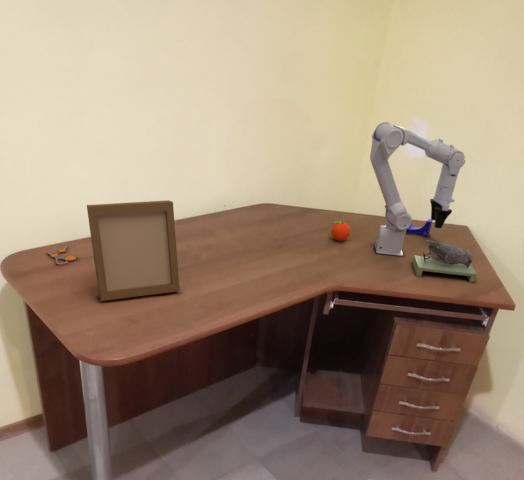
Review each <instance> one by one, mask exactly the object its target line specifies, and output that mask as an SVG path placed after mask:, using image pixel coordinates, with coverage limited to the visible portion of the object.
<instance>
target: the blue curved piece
mask: <svg viewBox="0 0 524 480" xmlns="http://www.w3.org/2000/svg"><path fill="white" fill-rule="evenodd" d="M433 221H434V220H431V218H428V219H427V220H426V221H425V224H424V225H423V226H420V227H416V226H413V225H412V224H411V225H410V227H409V228H408V229H406V233H405V234H410V235H411V234H414V235H419V236H421V237H425V238H427V237H428V236H429V235H430V232H431V229H432V224H433Z"/></svg>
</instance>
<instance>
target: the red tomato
mask: <svg viewBox="0 0 524 480" xmlns="http://www.w3.org/2000/svg"><path fill="white" fill-rule="evenodd" d="M333 224H334V225H333V226H332V227H331V225H329V226H328V227H331V236H332V237H333V239H334V240H335V241H340V242H344V241H346V240H347V239H348V238H349V237H350V235H351V227H350V225H349V224H348V223H347V222H346V221H340V220H339V221H334V222H333Z"/></svg>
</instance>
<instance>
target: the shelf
mask: <svg viewBox="0 0 524 480" xmlns="http://www.w3.org/2000/svg"><path fill="white" fill-rule="evenodd" d="M428 257H429V256H425V258H428ZM425 261H426V262H425ZM425 261H424V256H422V255H415V254H414V255H413V260H412V262H411V264H412V267H413V270H414V273H415V276H417V277H422V275H423V272H430V273H439V274H447V275H457V276H466V278H467V280H468V283H469V282H470V283H475V280H476V278H477V274H478V273H477V272H476V270H475V269H474V267H473V265H472V263H471V264H470V266H469V267H468V268H467V267H466V265H464V264H460V263H459V264H454V265H449V264H444V263H441V262H438V261H436V260H433V259H432V257H430V258H428V259H425Z"/></svg>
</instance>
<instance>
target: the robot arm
mask: <svg viewBox="0 0 524 480" xmlns="http://www.w3.org/2000/svg"><path fill="white" fill-rule="evenodd" d="M371 140H372V141H371V148H370V149H371V150H370V154H369V160H370V163H371V166H372V169H373V172H374V174H375V177H376V180H377V183H378V186H379V189H380V191H381V194H382V198H383V200H384V202H385V204H384V209H385V213H384V217H385V219H386V223H385V225H379V227H378V230H377V235H376V238H375V243H374V247H375V252H376V254H380V255H391V256H397V257H398V256H399V257H403V256H404V253H403V245H404V240H405V236H406V234H407V233H406V229H408V228H409V227H410V225H412V223H413V217H412V216H411V214H410V213H408V211H407V209H406V207H405V205H404V204H403V202H402V200H401V196H400V193H399V191H398V187H397V184H396V181H395V178H394V176H393V172H392V169H391V165H390V163H389V160H390V159H389V158H390V157H391V156H392V155H393V154H394V153H395V152H396V150H397V149H399V147H401V146H402V147H404V146H406V145H407V144H409V145H412V146H414V147H416V148H419V149H420V150H423V151H424V154H425V156H426V157H428V158H430V159H432V160H434V161H436V162H437V163H440V164H441V169H440V173H439V176H438V180H437V184H436V188H435V192H434V195H433V198H430V199H429V201H430V202H429V203H430V207H431V208H430V220H433V221H434V228H435V229H442V227H443V226H444V224H445V223H446V222H445V221H446V220H447V219H448V217H449V216H450V215H451V214H452V212H453V210H452V209H450V205H451V203H455V198H452V197H453V194H454V190H455V187H456V183H457V179H458V176H459V173H460V171H461V168H462V167H463V166H464V165H465V163H466V159H465V158H466V156H465V154H464V152H463V151H461V150H459V149H458V148H455V146H454V145H453V144H450V145H449V144H447V143H445V142H444V140H443V139H441V138H432V139H430V140H428V139H427V138H424V137H423V136H421V135H419V134H417V133H416V132H414V131H411V130H410V129H408V128H406V127H402V126H400V125H397V124H391V123H390V122H388V121H383V122H380V123H379V124H378V125H377V126H376V127H375V129H374V130H373V132H372V134H371Z"/></svg>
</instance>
